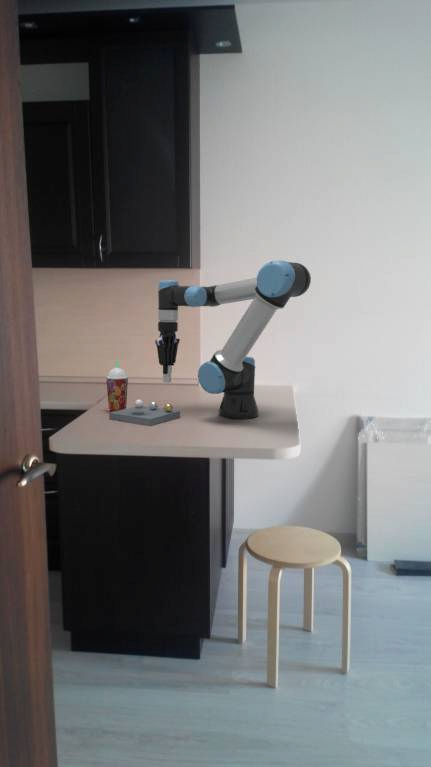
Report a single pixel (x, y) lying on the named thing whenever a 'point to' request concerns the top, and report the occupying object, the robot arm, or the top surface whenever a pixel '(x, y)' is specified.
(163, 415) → the bearing plate
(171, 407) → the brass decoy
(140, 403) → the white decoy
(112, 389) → the smoothie
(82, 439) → the top surface
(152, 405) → the steel ball
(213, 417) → the top surface
